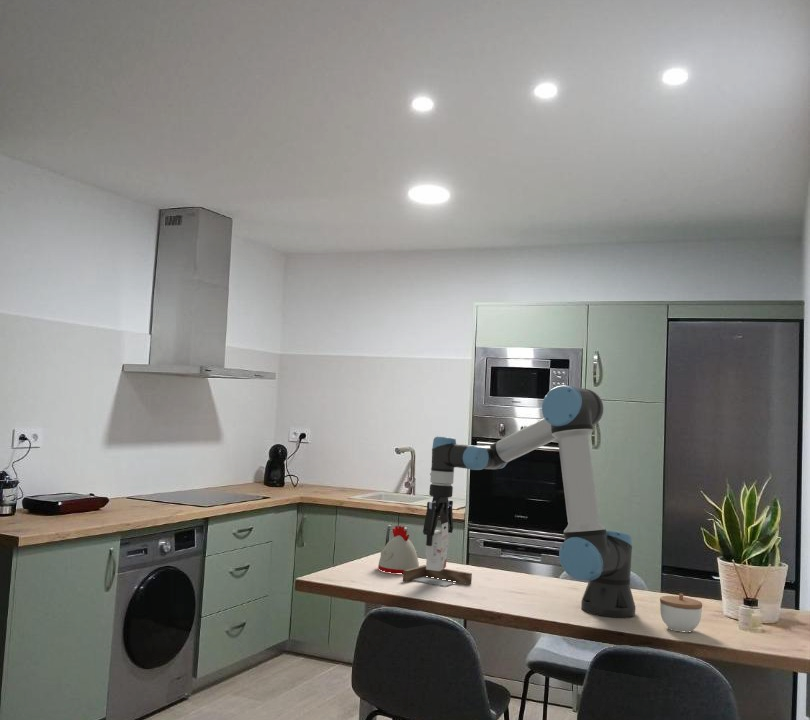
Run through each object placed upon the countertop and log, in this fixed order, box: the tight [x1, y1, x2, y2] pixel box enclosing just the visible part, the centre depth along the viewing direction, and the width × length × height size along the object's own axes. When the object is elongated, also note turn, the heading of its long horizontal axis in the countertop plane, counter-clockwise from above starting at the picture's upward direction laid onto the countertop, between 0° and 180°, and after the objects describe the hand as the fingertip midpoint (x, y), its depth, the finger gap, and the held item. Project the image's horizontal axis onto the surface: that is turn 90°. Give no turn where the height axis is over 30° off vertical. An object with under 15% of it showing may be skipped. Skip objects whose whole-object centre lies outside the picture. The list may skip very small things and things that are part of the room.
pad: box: [412, 576, 458, 587], centre depth 244 cm, size 12×8×1 cm, turn 60°
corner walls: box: [402, 564, 473, 585], centre depth 243 cm, size 18×14×4 cm
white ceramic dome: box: [377, 525, 420, 574], centre depth 260 cm, size 14×14×15 cm
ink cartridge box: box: [425, 522, 448, 571], centre depth 246 cm, size 9×5×15 cm, turn 163°
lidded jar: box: [659, 593, 703, 632], centre depth 204 cm, size 11×11×9 cm
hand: (436, 554), depth 246 cm, fingers closed on ink cartridge box, 9 cm apart
